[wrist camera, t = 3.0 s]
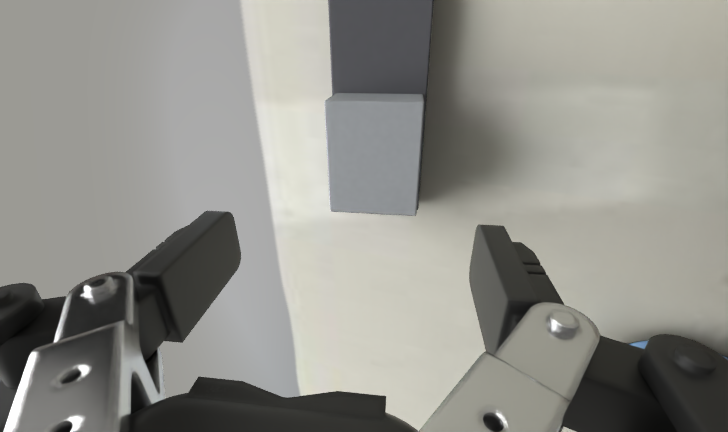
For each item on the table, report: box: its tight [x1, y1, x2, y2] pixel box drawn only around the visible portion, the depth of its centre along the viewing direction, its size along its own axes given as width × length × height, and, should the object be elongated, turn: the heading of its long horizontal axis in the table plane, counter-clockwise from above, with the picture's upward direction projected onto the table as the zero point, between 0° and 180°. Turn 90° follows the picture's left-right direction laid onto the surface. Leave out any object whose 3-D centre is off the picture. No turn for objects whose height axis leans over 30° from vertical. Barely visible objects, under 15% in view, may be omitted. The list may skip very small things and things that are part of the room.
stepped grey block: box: [324, 0, 434, 216], centre depth 19 cm, size 12×5×4 cm, turn 0°
